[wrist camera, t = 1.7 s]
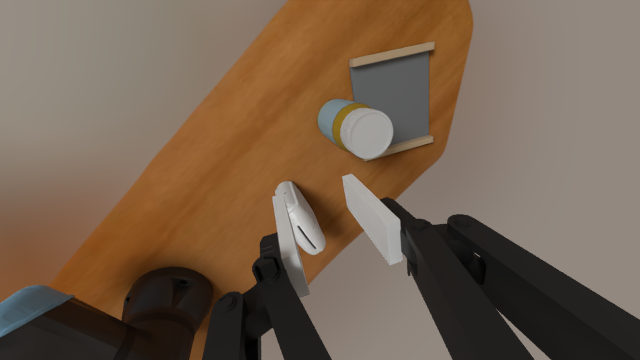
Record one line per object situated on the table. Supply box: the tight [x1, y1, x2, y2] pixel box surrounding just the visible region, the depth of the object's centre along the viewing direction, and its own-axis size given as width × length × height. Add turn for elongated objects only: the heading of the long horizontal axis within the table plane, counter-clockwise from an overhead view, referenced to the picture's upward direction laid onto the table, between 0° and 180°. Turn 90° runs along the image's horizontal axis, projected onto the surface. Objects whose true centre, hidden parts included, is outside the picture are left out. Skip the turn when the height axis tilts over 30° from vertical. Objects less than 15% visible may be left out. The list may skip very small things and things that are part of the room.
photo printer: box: [275, 181, 326, 255], centre depth 42 cm, size 10×4×12 cm, turn 29°
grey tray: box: [349, 41, 434, 161], centre depth 44 cm, size 15×18×2 cm
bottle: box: [317, 99, 393, 159], centre depth 36 cm, size 7×7×15 cm
